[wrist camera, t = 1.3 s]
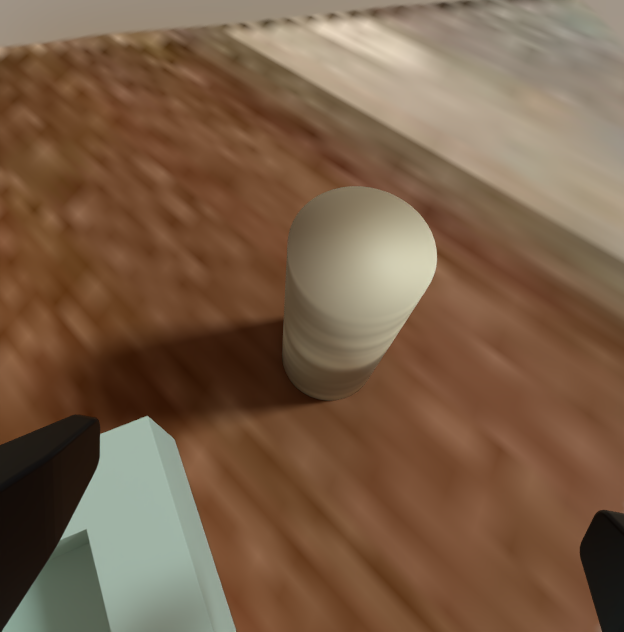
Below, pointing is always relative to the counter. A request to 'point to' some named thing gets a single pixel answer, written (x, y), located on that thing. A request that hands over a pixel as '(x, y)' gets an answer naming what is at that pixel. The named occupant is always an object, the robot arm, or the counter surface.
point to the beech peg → (350, 286)
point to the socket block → (130, 549)
